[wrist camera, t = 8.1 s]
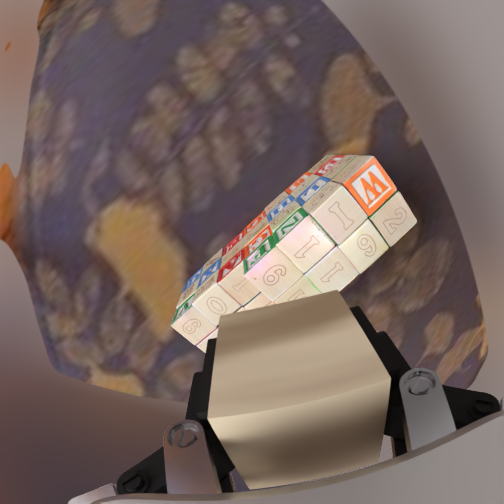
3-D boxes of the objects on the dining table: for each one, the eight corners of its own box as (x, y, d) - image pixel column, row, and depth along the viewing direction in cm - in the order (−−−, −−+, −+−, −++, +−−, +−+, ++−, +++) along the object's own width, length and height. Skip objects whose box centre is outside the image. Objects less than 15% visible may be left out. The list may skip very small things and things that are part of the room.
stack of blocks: (223, 315, 35) (216, 387, 24) (185, 281, 34) (159, 344, 22) (362, 195, 31) (420, 222, 19) (327, 152, 30) (376, 154, 18)
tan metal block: (219, 315, 11) (207, 418, 6) (337, 289, 11) (390, 377, 6) (247, 395, 12) (249, 489, 8) (344, 374, 12) (378, 461, 7)
